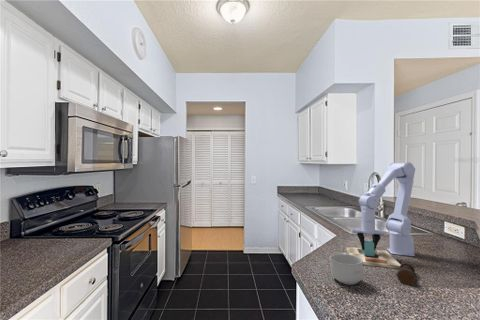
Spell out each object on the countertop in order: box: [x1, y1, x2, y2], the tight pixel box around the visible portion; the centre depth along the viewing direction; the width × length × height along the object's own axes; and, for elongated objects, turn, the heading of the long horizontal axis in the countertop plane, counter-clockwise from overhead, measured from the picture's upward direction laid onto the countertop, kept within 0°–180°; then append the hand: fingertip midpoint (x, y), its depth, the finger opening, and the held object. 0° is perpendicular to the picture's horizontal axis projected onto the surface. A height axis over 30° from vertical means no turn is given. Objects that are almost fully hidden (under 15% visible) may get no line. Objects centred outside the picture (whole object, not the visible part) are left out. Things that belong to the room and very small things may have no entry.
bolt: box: [395, 261, 417, 286], centre depth 89 cm, size 6×5×15 cm
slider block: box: [361, 239, 375, 257], centre depth 113 cm, size 4×5×6 cm
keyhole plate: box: [345, 246, 401, 270], centre depth 108 cm, size 18×20×2 cm
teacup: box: [329, 252, 364, 286], centre depth 86 cm, size 14×11×8 cm
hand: (368, 250), depth 112 cm, fingers closed on slider block, 4 cm apart
